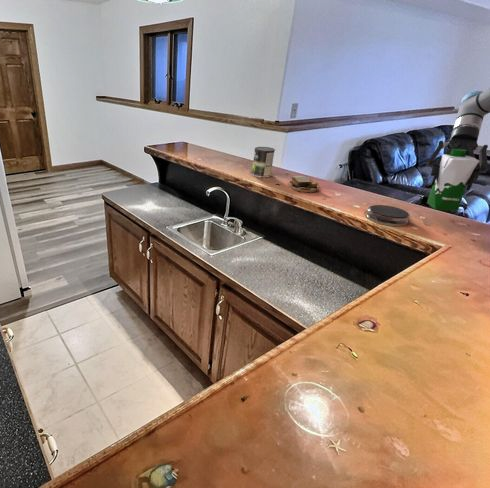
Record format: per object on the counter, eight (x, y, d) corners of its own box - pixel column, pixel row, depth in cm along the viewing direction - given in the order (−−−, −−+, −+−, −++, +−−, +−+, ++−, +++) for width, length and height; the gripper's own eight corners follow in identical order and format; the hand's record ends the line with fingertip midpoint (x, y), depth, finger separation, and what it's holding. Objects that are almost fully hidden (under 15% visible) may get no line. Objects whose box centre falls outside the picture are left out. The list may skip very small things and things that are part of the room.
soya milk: (449, 204, 129) (470, 149, 120) (461, 212, 121) (485, 154, 112) (422, 202, 130) (441, 147, 122) (433, 210, 123) (454, 152, 114)
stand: (408, 217, 136) (411, 209, 134) (406, 229, 126) (409, 220, 124) (368, 210, 143) (370, 202, 141) (363, 220, 133) (365, 212, 131)
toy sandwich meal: (296, 193, 161) (298, 183, 159) (285, 184, 173) (287, 175, 171) (322, 193, 162) (324, 183, 160) (310, 184, 174) (312, 175, 172)
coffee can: (253, 177, 184) (257, 150, 178) (249, 172, 193) (252, 146, 187) (273, 177, 184) (277, 150, 178) (268, 172, 193) (272, 146, 187)
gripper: (501, 142, 122) (487, 197, 117) (426, 135, 133) (410, 185, 128) (511, 127, 115) (496, 185, 111) (431, 122, 126) (415, 174, 122)
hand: (450, 185), depth 119 cm, fingers closed on soya milk, 9 cm apart
